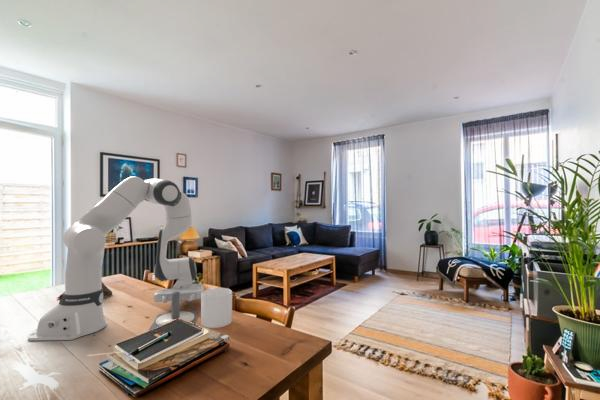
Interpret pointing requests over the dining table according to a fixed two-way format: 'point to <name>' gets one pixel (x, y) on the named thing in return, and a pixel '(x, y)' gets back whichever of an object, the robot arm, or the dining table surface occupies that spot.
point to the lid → (175, 312)
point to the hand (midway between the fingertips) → (177, 300)
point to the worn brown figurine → (106, 291)
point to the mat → (163, 314)
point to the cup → (216, 307)
